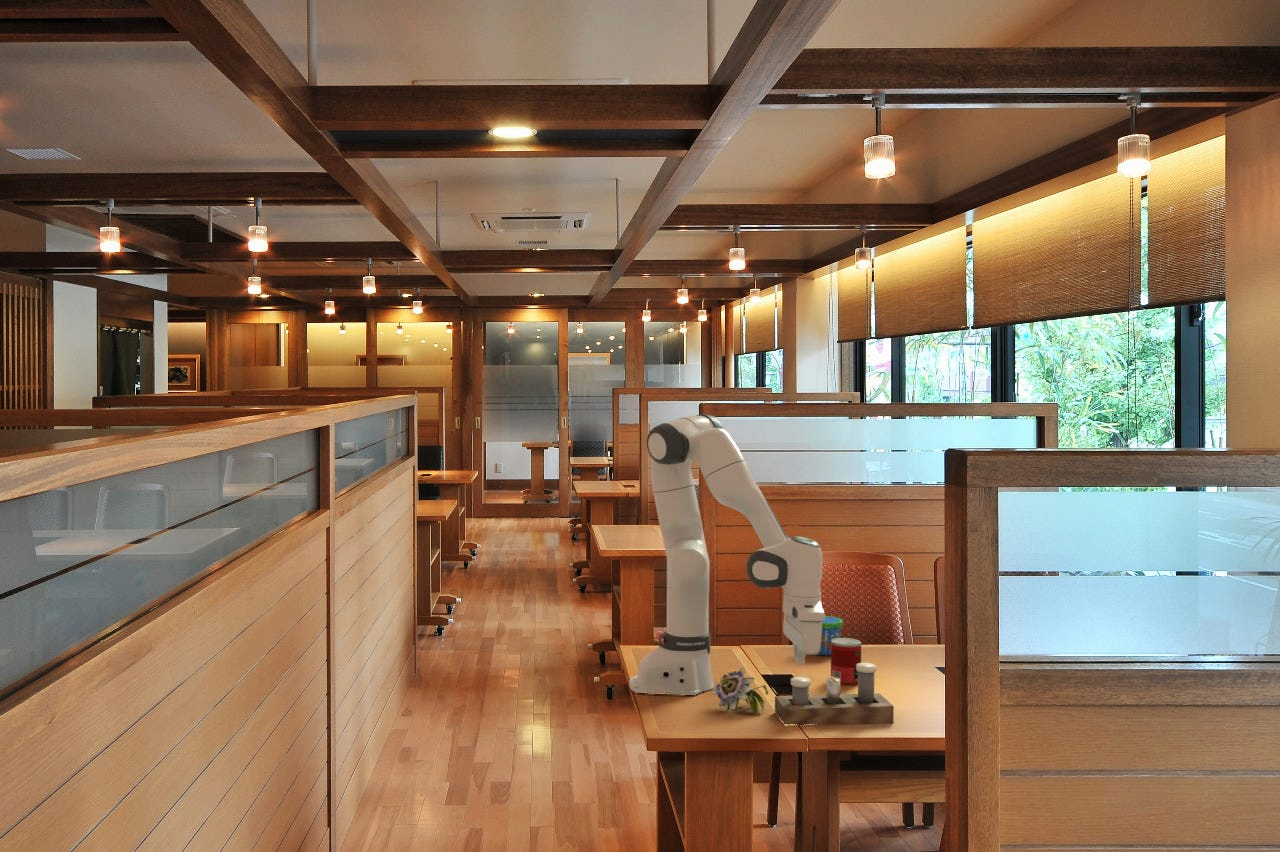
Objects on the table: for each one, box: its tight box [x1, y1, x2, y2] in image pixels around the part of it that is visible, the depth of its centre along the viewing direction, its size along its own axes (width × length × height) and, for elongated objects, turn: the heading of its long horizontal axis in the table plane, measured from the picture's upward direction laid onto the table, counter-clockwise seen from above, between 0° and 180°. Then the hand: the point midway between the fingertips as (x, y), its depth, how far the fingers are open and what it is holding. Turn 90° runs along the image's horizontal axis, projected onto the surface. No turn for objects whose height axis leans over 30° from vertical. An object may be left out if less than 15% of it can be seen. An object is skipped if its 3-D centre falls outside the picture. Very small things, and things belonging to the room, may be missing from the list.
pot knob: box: [826, 675, 841, 705], centre depth 236 cm, size 3×3×6 cm
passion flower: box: [711, 667, 769, 714], centre depth 243 cm, size 11×11×12 cm
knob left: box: [790, 676, 811, 706], centre depth 235 cm, size 5×5×9 cm
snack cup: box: [817, 615, 844, 656], centre depth 296 cm, size 16×10×10 cm
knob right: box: [856, 662, 877, 704], centre depth 237 cm, size 5×5×9 cm
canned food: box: [830, 637, 862, 686], centre depth 266 cm, size 8×8×11 cm
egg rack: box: [774, 692, 895, 726], centre depth 236 cm, size 26×10×4 cm, turn 95°
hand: (799, 663), depth 236 cm, fingers closed
